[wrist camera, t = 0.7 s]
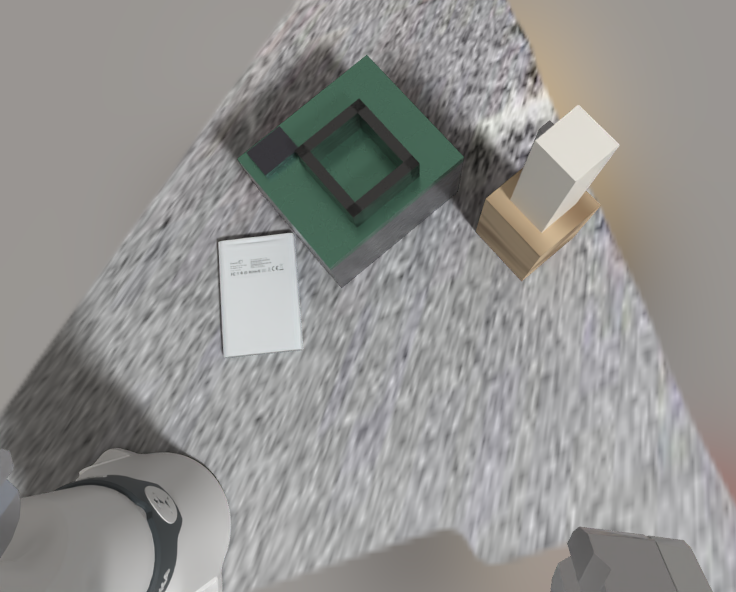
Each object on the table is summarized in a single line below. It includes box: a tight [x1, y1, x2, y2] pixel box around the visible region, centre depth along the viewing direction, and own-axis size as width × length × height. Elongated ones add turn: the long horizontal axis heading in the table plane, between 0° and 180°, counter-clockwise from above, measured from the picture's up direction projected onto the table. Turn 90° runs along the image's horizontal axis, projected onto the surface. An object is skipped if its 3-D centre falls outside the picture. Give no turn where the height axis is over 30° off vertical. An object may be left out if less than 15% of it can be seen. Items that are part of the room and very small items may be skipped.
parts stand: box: [476, 168, 601, 281], centre depth 59 cm, size 7×7×10 cm
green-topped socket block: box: [237, 55, 464, 288], centre depth 60 cm, size 16×14×12 cm
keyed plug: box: [510, 105, 619, 233], centre depth 48 cm, size 4×5×12 cm
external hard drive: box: [218, 233, 303, 358], centre depth 65 cm, size 2×8×12 cm
